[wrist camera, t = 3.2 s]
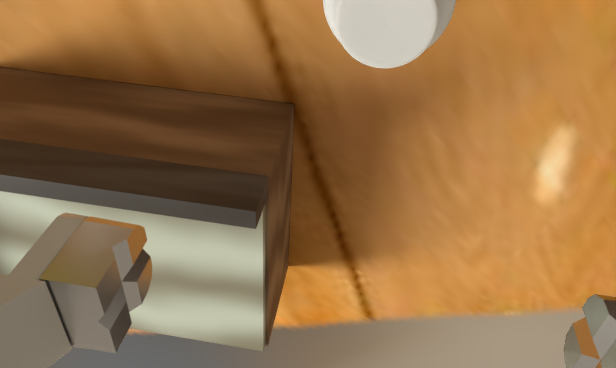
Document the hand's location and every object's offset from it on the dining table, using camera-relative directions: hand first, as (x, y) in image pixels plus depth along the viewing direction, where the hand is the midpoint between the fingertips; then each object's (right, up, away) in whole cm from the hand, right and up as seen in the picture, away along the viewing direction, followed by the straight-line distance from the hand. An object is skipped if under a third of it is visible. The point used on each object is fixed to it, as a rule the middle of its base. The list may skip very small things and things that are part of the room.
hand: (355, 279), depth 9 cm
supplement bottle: (+4, +14, +18) cm, 23 cm away
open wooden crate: (-13, +2, +30) cm, 33 cm away
